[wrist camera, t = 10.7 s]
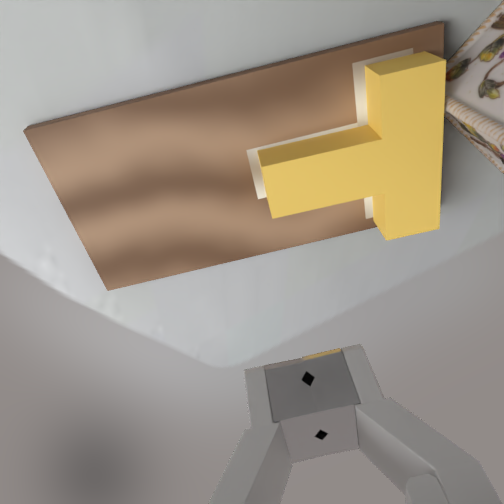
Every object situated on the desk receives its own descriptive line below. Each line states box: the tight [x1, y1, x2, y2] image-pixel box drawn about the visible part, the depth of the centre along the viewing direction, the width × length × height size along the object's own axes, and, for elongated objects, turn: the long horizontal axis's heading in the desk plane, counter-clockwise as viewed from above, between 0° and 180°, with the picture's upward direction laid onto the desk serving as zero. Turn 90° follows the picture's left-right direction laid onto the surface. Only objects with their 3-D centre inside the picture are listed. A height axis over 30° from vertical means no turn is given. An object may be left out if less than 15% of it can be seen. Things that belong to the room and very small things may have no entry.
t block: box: [257, 51, 446, 240], centre depth 31 cm, size 12×12×3 cm
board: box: [23, 21, 444, 291], centre depth 33 cm, size 14×28×1 cm, turn 102°
